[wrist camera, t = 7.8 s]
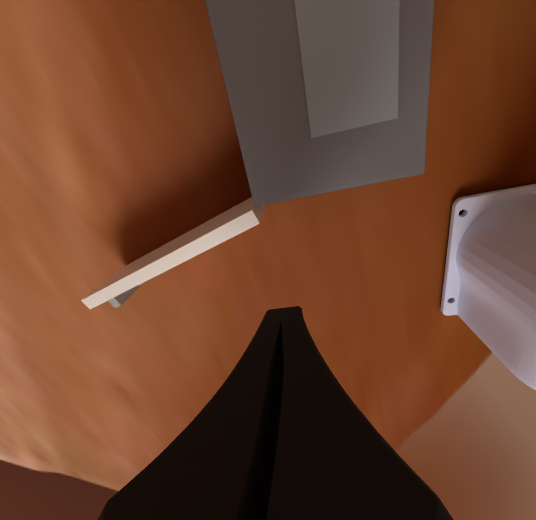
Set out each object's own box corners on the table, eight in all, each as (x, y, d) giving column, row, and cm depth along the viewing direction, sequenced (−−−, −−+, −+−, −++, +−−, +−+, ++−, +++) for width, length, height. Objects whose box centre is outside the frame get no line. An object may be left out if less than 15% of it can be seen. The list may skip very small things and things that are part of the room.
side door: (260, 192, 17) (251, 210, 13) (273, 215, 17) (268, 239, 13) (121, 268, 20) (80, 300, 16) (136, 285, 21) (101, 320, 17)
